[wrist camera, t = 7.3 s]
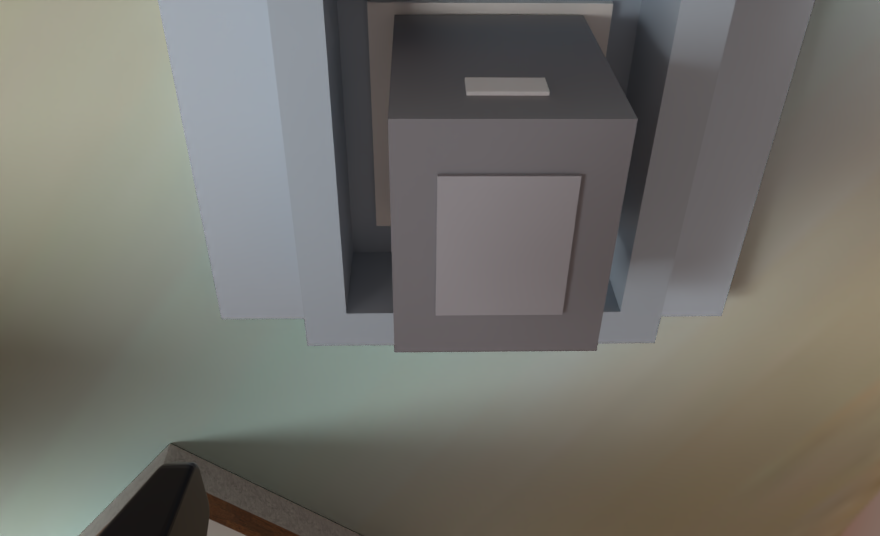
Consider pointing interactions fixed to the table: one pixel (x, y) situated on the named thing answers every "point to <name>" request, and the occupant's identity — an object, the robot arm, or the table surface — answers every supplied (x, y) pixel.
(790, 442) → the table surface
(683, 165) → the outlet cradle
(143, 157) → the table surface
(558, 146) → the brick
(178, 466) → the robot arm
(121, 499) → the white box wooden trim
